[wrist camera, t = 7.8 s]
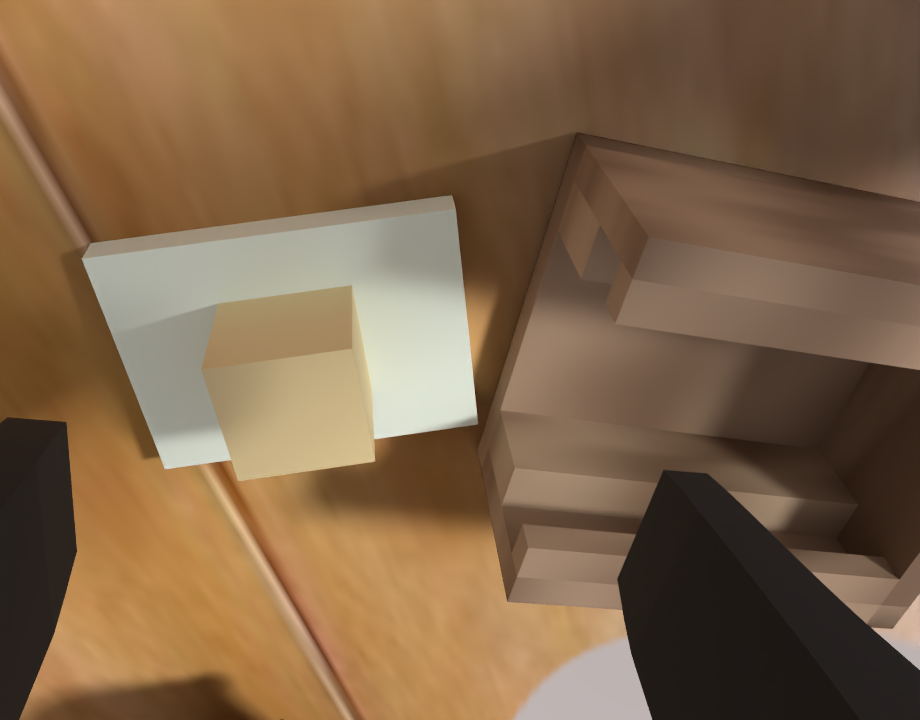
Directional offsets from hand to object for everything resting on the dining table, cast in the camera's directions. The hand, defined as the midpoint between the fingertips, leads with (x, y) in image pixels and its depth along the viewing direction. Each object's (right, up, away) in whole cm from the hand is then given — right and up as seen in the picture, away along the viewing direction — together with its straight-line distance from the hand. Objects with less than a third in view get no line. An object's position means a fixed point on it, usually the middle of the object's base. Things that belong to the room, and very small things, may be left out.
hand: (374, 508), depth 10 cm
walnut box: (+7, +2, +11) cm, 14 cm away
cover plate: (-3, +3, +10) cm, 11 cm away
